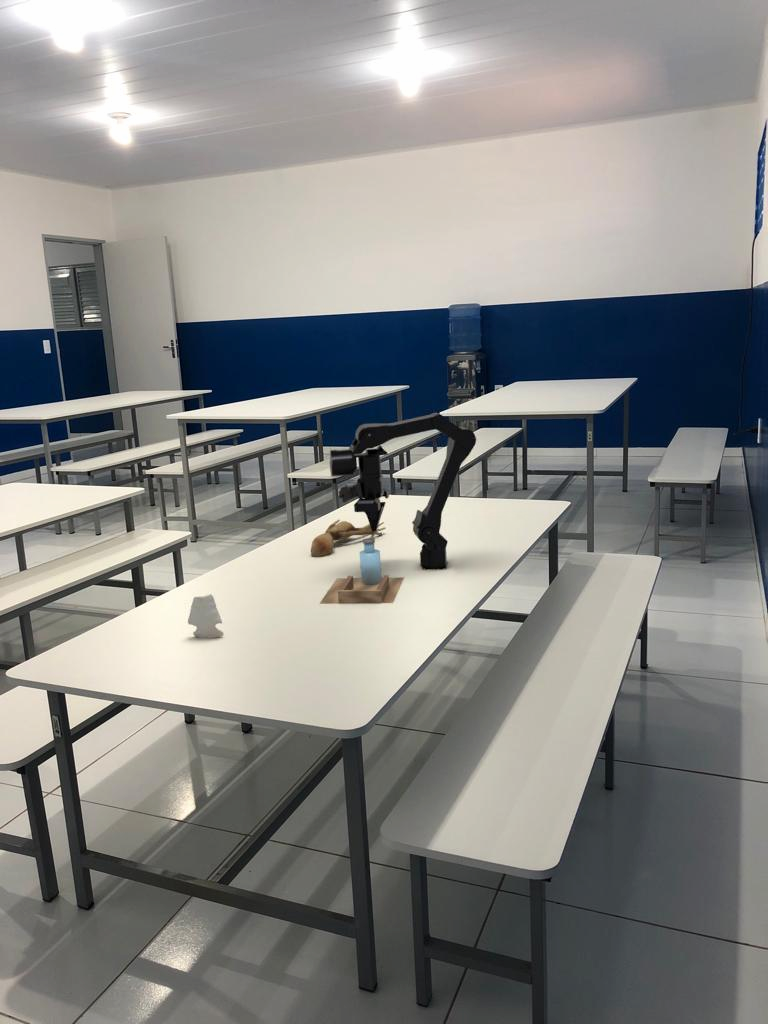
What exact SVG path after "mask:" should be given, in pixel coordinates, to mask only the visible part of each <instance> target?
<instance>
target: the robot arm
mask: <svg viewBox="0 0 768 1024" xmlns="http://www.w3.org/2000/svg"><path fill="white" fill-rule="evenodd" d="M433 430H434V431H435V430H437V432H439V433H441V434H442V435H443V436H445V437H446V438H448V439H447V444H446V456H445V459H444V463H443V465H442V467H441V470H440V472H439V474H438V477H437V480H436V482H435V485H434V487H433V490H432V492H431V495H430V498H429V499H428V502H427V505H426V507H424V509H423V510H422V511H421V510H419V509H417V511H416V514H415V517H414V520H412V522H411V524H412V525H413V527H412V531H413V534H414V535H415V536H416V538H417V539H418V540H419V541H420V542H421V543H422V546H421V550H420V552H419V559H420V567H421V570H422V571H424V570H425V571H426V570H427V571H428V570H446V569H447V567H448V563H449V562H448V559H447V545H448V540H447V539H446V537H444V536H443V535H442V534H441V533H440V530H441V525H442V513H443V511H444V508H445V506H446V502H447V500H448V498H449V495H450V493H451V491H452V488H453V485H454V483H455V481H456V478H457V476H458V473H459V470H460V468H461V466H462V464H463V463H464V462H465V460H466V459H467V458H468V456H469V455H470V453H471V452H472V450H473V449H474V447H475V445H476V443H477V437H476V435H475V433H474V431H472V430H471V429H468V428H466V427H464V426H458V425H456V424H455V423H454V422H451V421H450V420H448V419H447V418H446V417H445V416H444V415H443V414H440V413H438V412H432V413H430V414H428V415H422V416H417V417H413V418H409V419H404V420H400V421H395V422H391V423H364V424H363V423H362V424H360V425H359V426H358V427H357V429H356V430H355V438H354V440H353V441H352V443H351V445H350V446H349V448H348V449H346V448H345V449H330V450H329V454H330V455H329V471H330V476H331V477H340V476H341V477H342V476H352V475H354V473H355V472H356V471H358V472H359V473H358V474H359V477H358V479H357V480H356V482H355V483H352V484H350V485H348V484H346V485H344V486H341V487H340V490H339V491H338V495H339V496H338V498H339V499H341V501H342V503H343V504H344V503H346V502H348V501H350V500H352V499H354V498H357V499H358V500H357V501H356V502H355V503H354V504H353V508H354V509H353V511H354V513H364V514H365V515H366V518H367V521H368V524H370V527H371V530H372V531H376V530H377V527H378V524H380V522H381V521H380V520H381V517H382V515H383V513H384V512H383V511H384V509H385V506H386V502H385V501H381V499H380V498H382V497H384V499H389V497H390V491H389V489H388V488H387V487H386V486H383V481H382V480H383V479H384V475H383V474H382V467H381V466H382V465H381V456H387V455H388V451H386V450H385V449H384V448H383V446H382V445H383V444H385V443H387V442H389V441H391V440H393V439H398V438H402V437H406V436H411V435H414V434H420V433H424V432H428V431H433ZM375 447H376V448H375ZM357 458H358V459H357ZM357 460H358V463H357ZM378 528H379V527H378Z"/></svg>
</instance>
